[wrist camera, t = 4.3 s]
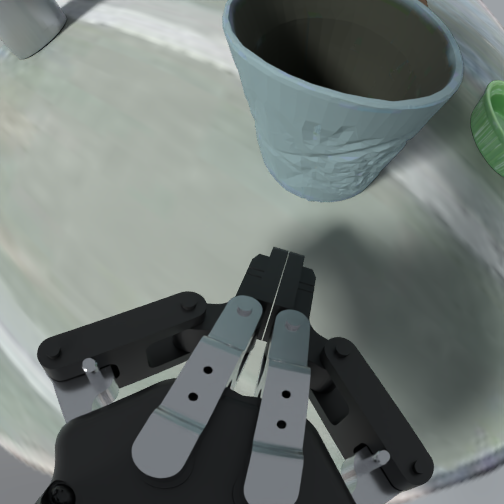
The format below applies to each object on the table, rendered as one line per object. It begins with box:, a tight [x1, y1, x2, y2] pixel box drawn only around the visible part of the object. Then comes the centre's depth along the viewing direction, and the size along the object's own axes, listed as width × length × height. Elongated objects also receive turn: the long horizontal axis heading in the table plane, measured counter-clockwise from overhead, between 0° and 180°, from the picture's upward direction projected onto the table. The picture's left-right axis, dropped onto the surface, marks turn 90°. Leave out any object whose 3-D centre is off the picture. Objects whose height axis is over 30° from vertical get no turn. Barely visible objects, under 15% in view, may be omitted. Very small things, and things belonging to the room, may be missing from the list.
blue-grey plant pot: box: [222, 0, 464, 202], centre depth 15 cm, size 10×10×12 cm
